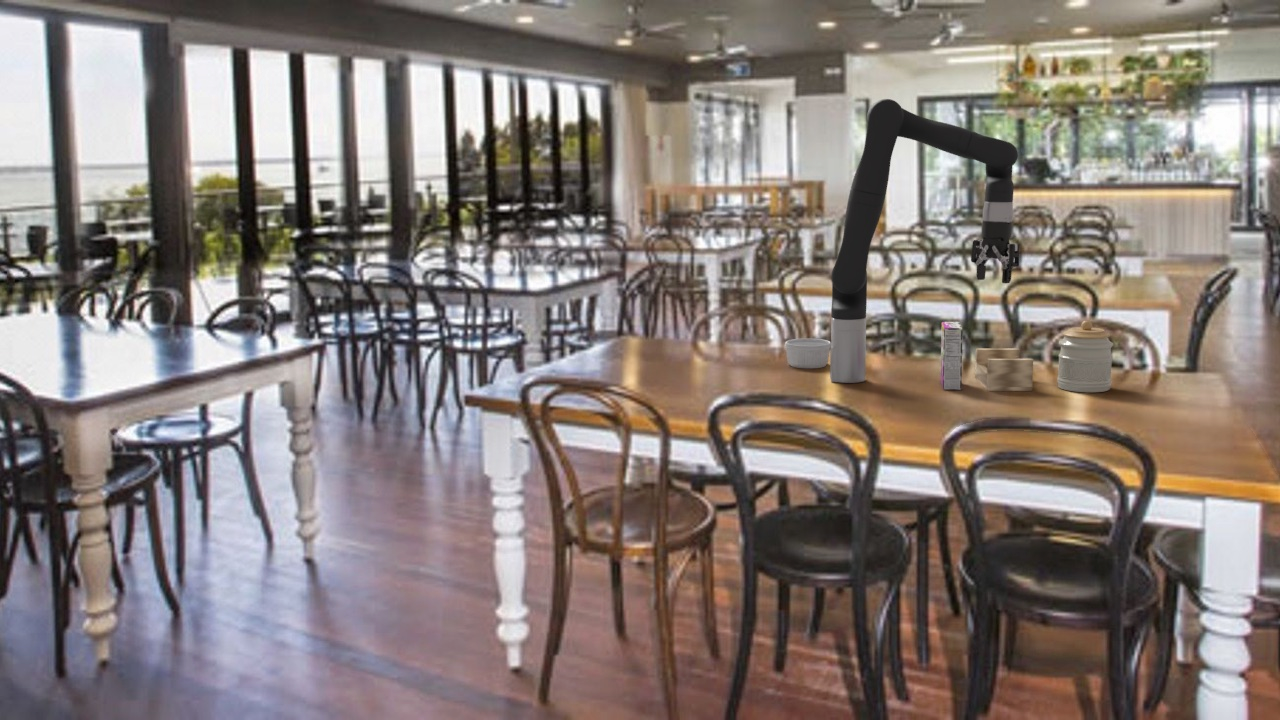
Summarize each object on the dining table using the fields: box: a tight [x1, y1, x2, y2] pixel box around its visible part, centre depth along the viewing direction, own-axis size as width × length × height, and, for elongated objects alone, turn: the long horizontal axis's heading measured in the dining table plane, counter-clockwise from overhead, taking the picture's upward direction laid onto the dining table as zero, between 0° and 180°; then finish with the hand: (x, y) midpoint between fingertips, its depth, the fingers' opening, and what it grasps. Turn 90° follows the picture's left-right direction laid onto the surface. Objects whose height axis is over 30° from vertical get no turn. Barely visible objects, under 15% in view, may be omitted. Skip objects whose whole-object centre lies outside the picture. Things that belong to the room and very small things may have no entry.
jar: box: [1056, 320, 1114, 393], centre depth 293 cm, size 13×13×18 cm
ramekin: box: [784, 338, 831, 369], centre depth 335 cm, size 13×13×7 cm
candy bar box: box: [940, 321, 963, 391], centre depth 299 cm, size 11×5×16 cm, turn 168°
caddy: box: [974, 347, 1034, 392], centre depth 302 cm, size 11×18×8 cm, turn 174°
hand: (993, 281), depth 301 cm, fingers open, 8 cm apart
